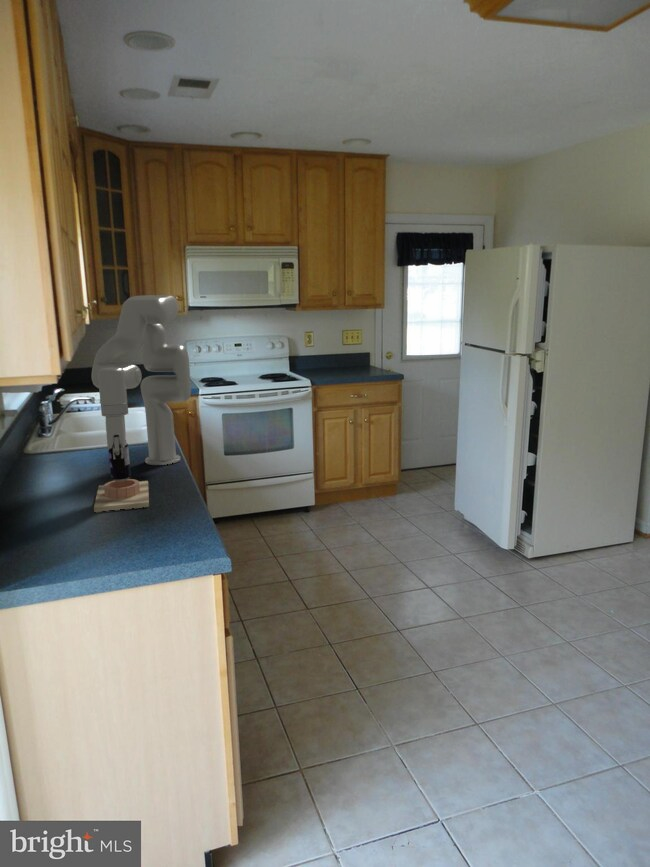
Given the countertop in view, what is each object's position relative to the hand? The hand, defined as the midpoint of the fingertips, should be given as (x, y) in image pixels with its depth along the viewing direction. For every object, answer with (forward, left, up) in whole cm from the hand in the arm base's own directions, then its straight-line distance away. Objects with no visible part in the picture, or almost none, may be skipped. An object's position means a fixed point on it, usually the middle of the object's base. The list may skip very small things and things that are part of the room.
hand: (120, 468), depth 189 cm
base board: (0, 0, -9) cm, 9 cm away
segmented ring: (0, 0, -8) cm, 8 cm away
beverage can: (0, 0, -4) cm, 4 cm away
